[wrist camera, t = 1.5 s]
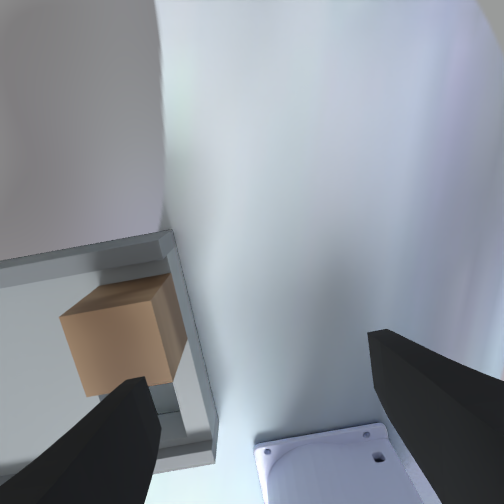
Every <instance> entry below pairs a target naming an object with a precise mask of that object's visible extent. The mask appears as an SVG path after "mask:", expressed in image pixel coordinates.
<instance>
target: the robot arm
mask: <svg viewBox="0 0 504 504" xmlns="http://www.w3.org/2000/svg"><path fill="white" fill-rule="evenodd" d="M367 334H368V342H369V350H370V358H371V367H372V375H373V383H374V389H375V391H376V393H377V395H378V397H379V399H380V402H381V404H382V406H383V408H384V410H385V412H386V414H387V416H388V418H389V420H390V421H391V423H392V424H393V426H394V428H395V429H396V431H397V432H398V434H399V436H400V437H401V439H402V440H403V442H404V444H405V445H406V447H407V448H408V450H409V451H410V453H411V455H412V456H413V458H414V459H415V461H416V462H417V464H418V466H419V467H420V469H421V470H422V472H423V473H424V475H425V477H426V478H427V480H428V481H429V483H430V484H431V486H432V488H433V489H434V491H435V492H436V494H437V496H438V498H439V499H440V501H441V503H442V504H504V381H502V380H499V379H496V378H494V377H491V376H489V375H486V374H483V373H481V372H479V371H476V370H474V369H471V368H469V367H467V366H464V365H462V364H460V363H457V362H455V361H453V360H451V359H448V358H446V357H444V356H442V355H440V354H438V353H436V352H433V351H431V350H429V349H427V348H425V347H423V346H421V345H419V344H417V343H415V342H413V341H411V340H409V339H407V338H405V337H403V336H401V335H399V334H397V333H395V332H393V331H390V330H388V329H383V330H378V331H373V332H368V333H367ZM161 431H162V427H161V424H160V421H159V418H158V415H157V412H156V409H155V406H154V403H153V400H152V397H151V394H150V391H149V388H148V384H147V381H146V378H145V376H142V377H137V378H132V379H127V380H125V381H124V382H123V383H121V384H120V385H119V386H118V387H116V388H115V389H114V390H113V391H112V392H111V393H110V394H108V395H107V396H106V397H105V398H104V399H103V400H102V401H101V402H100V403H99V404H98V405H96V406H95V407H94V408H93V409H92V410H91V411H90V412H89V413H88V414H87V415H85V416H84V417H83V418H82V419H81V420H80V421H79V422H78V423H77V424H76V425H74V426H73V427H72V428H71V429H70V430H69V431H68V432H66V433H65V434H64V435H63V436H62V437H61V438H59V439H58V440H57V441H56V442H55V443H54V444H52V445H51V446H50V447H49V448H48V449H47V450H45V451H44V452H43V453H42V454H41V455H39V456H38V457H37V458H36V459H35V460H33V461H32V462H31V463H30V464H28V465H27V466H26V467H25V468H23V469H22V470H21V471H19V472H18V473H17V474H15V475H14V476H13V477H11V478H10V479H9V480H7V481H6V482H5V483H3V484H2V485H1V486H0V504H144V502H145V499H146V496H147V492H148V489H149V485H150V482H151V479H152V475H153V472H154V468H155V465H156V461H157V455H158V450H159V444H160V437H161ZM364 432H367V433H365V434H363V433H364ZM265 449H270V450H265ZM253 452H254V458H255V463H256V467H257V472H258V476H259V481H260V486H261V490H262V495H263V499H264V504H424V503H423V501H422V499H421V497H420V495H419V493H418V492H417V490H416V488H415V486H414V484H413V483H412V481H411V479H410V477H409V475H408V473H407V472H406V470H405V468H404V466H403V464H402V462H401V461H400V459H399V457H398V455H397V453H396V452H395V450H394V448H393V446H392V444H391V442H390V441H389V439H388V431H387V428H386V426H385V425H384V424H382V423H374V424H368V425H363V426H357V427H351V428H345V429H339V430H334V431H328V432H322V433H316V434H310V435H304V436H299V437H293V438H287V439H281V440H275V441H269V442H264V443H258V444H256V445H255V446H254V448H253Z"/></svg>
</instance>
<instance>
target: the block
mask: <svg viewBox="0 0 504 504" xmlns="http://www.w3.org/2000/svg"><path fill="white" fill-rule="evenodd" d="M59 319H60V322H61V325H62V328H63V331H64V334H65V337H66V340H67V343H68V345H69V348H70V351H71V354H72V357H73V360H74V363H75V366H76V368H77V371H78V374H79V377H80V380H81V383H82V386H83V389H84V392H85V394H86V397H91V396H97V395H103V394H109V393H111V392H112V391H113V390H114V389H115V388H116V387H118V386H119V385H120V384H121V383H123V382H124V381H125V380H127V379H132V378H137V377H142V376H145V378H146V381H147V384H148V386H154V385H160V384H166V383H171V382H173V381H174V378H175V375H176V372H177V369H178V366H179V363H180V360H181V357H182V354H183V351H184V348H185V345H186V342H187V339H188V338H187V334H186V330H185V326H184V322H183V318H182V314H181V310H180V306H179V302H178V298H177V294H176V290H175V286H174V282H173V278H172V274H171V273H167V274H162V275H156V276H150V277H145V278H139V279H134V280H128V281H123V282H117V283H112V284H106V285H101V286H98V287H97V288H96V289H94V290H93V291H92V292H91V293H89V294H88V295H87V296H85V297H84V298H83V299H81V300H80V301H79V302H78V303H76V304H75V305H74V306H72V307H71V308H70V309H69V310H67V311H66V312H65V313H63V314H62V315H61V316H59Z"/></svg>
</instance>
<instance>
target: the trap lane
mask: <svg viewBox="0 0 504 504" xmlns="http://www.w3.org/2000/svg"><path fill="white" fill-rule="evenodd" d="M167 273H171V274H172V278H173V282H174V286H175V290H176V294H177V298H178V302H179V306H180V310H181V314H182V318H183V322H184V326H185V330H186V334H187V338H188V339H187V342H186V345H185V348H184V351H183V354H182V357H181V360H180V363H179V366H178V369H177V372H176V375H175V378H174V381H173V386H174V389H175V393H176V397H177V401H178V404H179V408H180V411H177V412H172V413H166V414H160V415H158V418H159V421H160V424H161V427H162V431H161V437H160V444H159V450H158V455H157V461H156V465H155V468H154V472H153V474H157V473H163V472H169V471H175V470H181V469H187V468H192V467H198V466H204V465H210V464H215V459H216V449H217V439H218V429H219V421H218V417H217V412H216V408H215V404H214V400H213V396H212V392H211V388H210V383H209V379H208V375H207V371H206V367H205V363H204V359H203V354H202V350H201V346H200V342H199V338H198V334H197V330H196V325H195V321H194V317H193V313H192V309H191V305H190V300H189V296H188V292H187V288H186V284H185V280H184V276H183V271H182V267H181V263H180V259H179V255H178V251H177V247H176V242H175V238H174V234H173V230H172V229H171V230H166V231H160V232H155V233H149V234H144V235H139V236H133V237H128V238H122V239H117V240H111V241H106V242H100V243H96V244H90V245H84V246H79V247H73V248H69V249H62V250H57V251H52V252H46V253H41V254H36V255H30V256H24V257H19V258H13V259H8V260H3V261H0V486H1V485H2V484H3V483H5V482H6V481H7V480H9V479H10V478H11V477H13V476H14V475H15V474H17V473H18V472H19V471H21V470H22V469H23V468H25V467H26V466H27V465H28V464H30V463H31V462H32V461H33V460H35V459H36V458H37V457H38V456H39V455H41V454H42V453H43V452H44V451H45V450H47V449H48V448H49V447H50V446H51V445H52V444H54V443H55V442H56V441H57V440H58V439H59V438H61V437H62V436H63V435H64V434H65V433H66V432H68V431H69V430H70V429H71V428H72V427H73V426H74V425H76V424H77V423H78V422H79V421H80V420H81V419H82V418H83V417H84V416H85V415H87V414H88V413H89V412H90V411H91V410H92V409H93V408H94V407H95V406H96V405H98V404H99V403H100V402H101V401H102V400H103V399H104V398H105V397H106V396H107V395H108V394H103V395H97V396H91V397H86V394H85V392H84V389H83V386H82V383H81V380H80V377H79V374H78V371H77V368H76V366H75V363H74V360H73V357H72V354H71V351H70V348H69V345H68V343H67V340H66V337H65V334H64V331H63V328H62V325H61V322H60V319H59V316H61V315H62V314H63V313H65V312H66V311H67V310H69V309H70V308H71V307H72V306H74V305H75V304H76V303H78V302H79V301H80V300H81V299H83V298H84V297H85V296H87V295H88V294H89V293H91V292H92V291H93V290H94V289H96V288H97V287H98V286H101V285H106V284H112V283H117V282H123V281H128V280H134V279H139V278H145V277H150V276H156V275H162V274H167ZM109 394H110V393H109Z"/></svg>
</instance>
